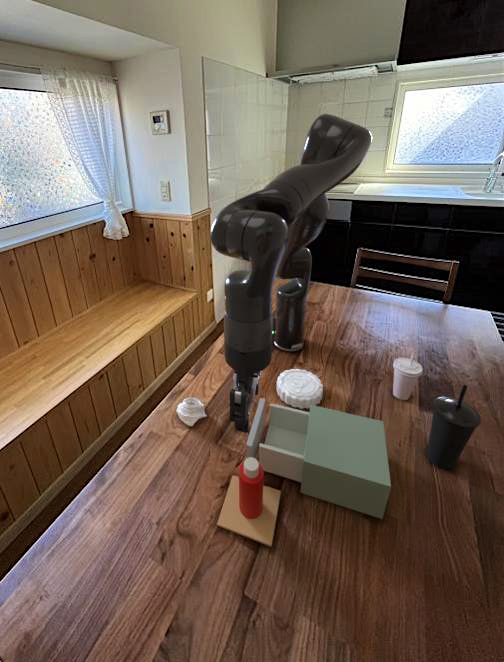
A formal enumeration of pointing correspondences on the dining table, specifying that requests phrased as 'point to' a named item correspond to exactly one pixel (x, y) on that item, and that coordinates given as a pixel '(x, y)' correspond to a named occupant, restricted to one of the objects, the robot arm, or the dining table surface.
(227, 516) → the cork coaster
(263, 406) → the drawer
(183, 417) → the whipped cream
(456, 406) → the drinking cup
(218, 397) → the dining table surface
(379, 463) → the cabinet
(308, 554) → the dining table surface
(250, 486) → the ketchup bottle
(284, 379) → the mooncake
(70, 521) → the dining table surface
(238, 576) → the dining table surface
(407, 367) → the smoothie
